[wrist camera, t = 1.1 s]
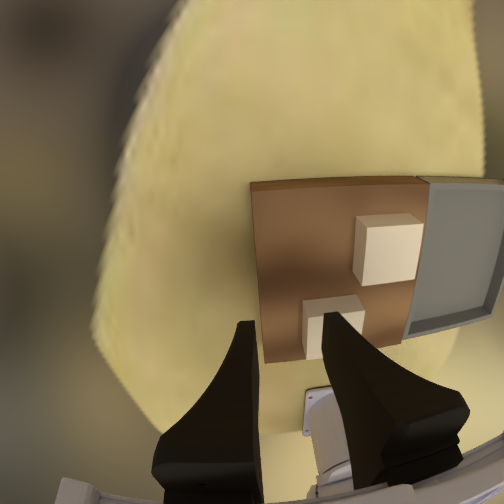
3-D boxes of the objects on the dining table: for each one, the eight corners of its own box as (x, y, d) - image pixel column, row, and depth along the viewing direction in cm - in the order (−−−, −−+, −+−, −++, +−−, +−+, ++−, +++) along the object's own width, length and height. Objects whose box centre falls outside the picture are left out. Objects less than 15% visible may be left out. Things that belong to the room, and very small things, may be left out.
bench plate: (391, 326, 27) (400, 343, 24) (262, 344, 27) (264, 363, 24) (412, 176, 20) (429, 184, 18) (250, 182, 20) (251, 191, 18)
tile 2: (350, 335, 24) (358, 352, 22) (301, 342, 24) (306, 360, 22) (356, 294, 22) (365, 310, 20) (302, 300, 22) (308, 317, 20)
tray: (482, 306, 27) (492, 317, 25) (393, 326, 27) (401, 340, 25) (512, 179, 20) (526, 186, 19) (416, 176, 20) (429, 182, 19)
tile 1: (402, 265, 21) (414, 279, 19) (352, 270, 21) (361, 286, 19) (409, 213, 19) (423, 223, 17) (355, 216, 19) (367, 227, 17)
